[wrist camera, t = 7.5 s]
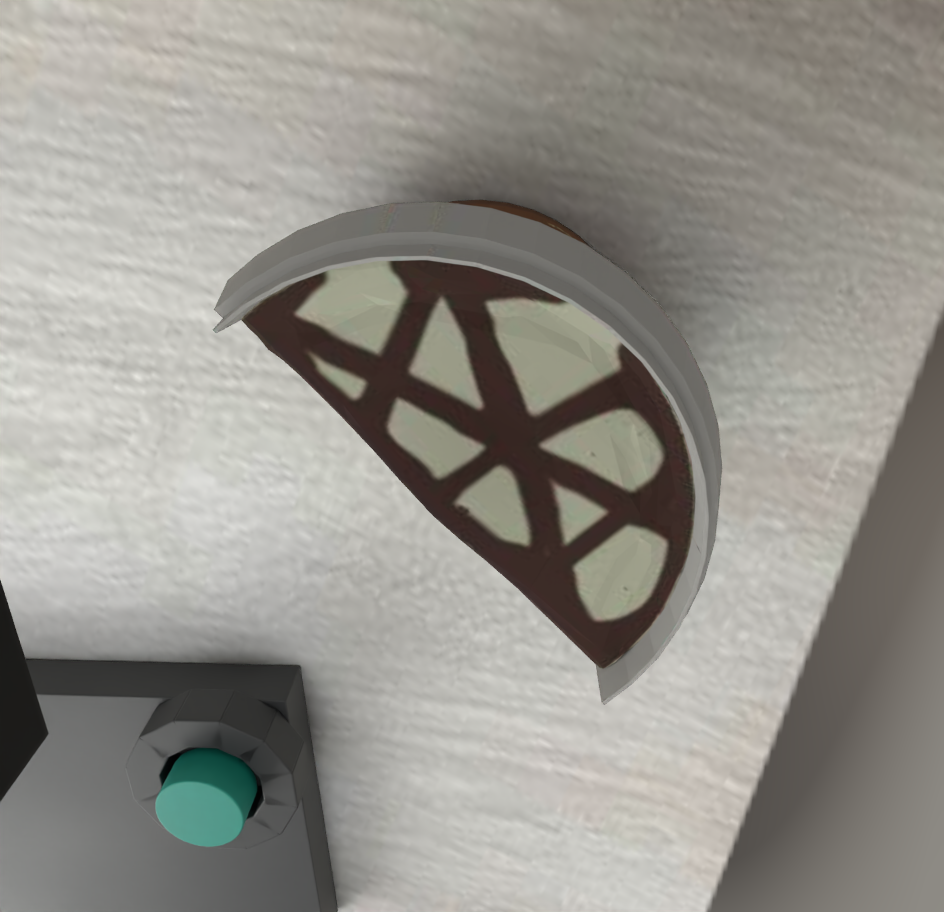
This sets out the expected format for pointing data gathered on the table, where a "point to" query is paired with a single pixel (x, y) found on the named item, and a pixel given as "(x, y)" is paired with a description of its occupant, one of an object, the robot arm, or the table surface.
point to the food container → (511, 403)
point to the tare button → (206, 797)
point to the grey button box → (139, 782)
